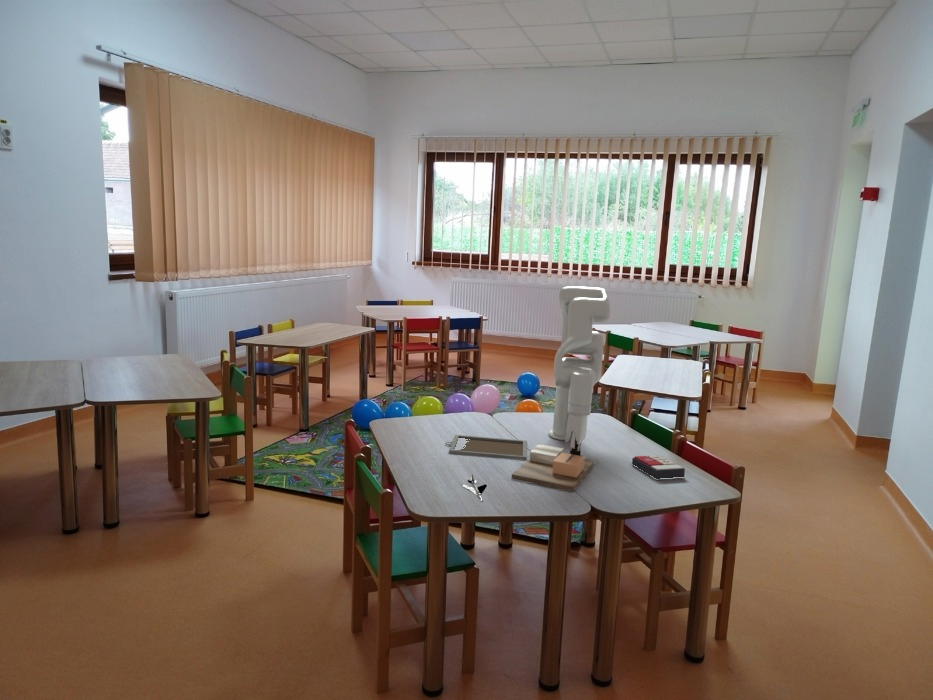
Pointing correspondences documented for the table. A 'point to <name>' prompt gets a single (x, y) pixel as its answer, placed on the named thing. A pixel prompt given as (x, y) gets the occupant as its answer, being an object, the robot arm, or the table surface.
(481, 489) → the toy airplane
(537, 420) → the table surface
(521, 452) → the framed hanging board
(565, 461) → the tan box with slot
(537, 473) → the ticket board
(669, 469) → the red black flat box
